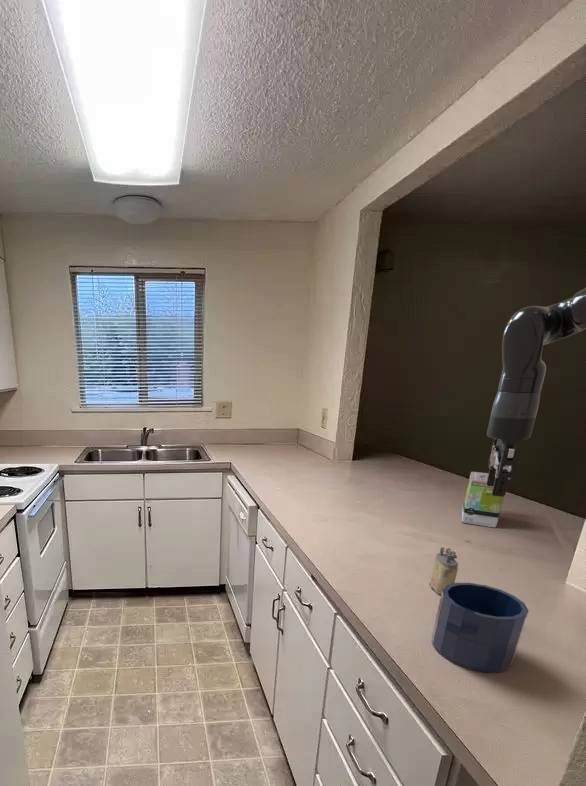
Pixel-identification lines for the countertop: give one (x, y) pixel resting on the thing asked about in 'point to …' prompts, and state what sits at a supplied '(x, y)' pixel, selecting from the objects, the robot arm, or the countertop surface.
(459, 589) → the pot
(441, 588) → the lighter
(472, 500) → the tea box
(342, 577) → the countertop surface
